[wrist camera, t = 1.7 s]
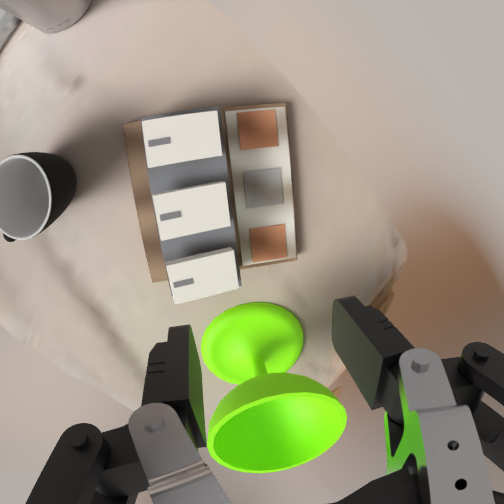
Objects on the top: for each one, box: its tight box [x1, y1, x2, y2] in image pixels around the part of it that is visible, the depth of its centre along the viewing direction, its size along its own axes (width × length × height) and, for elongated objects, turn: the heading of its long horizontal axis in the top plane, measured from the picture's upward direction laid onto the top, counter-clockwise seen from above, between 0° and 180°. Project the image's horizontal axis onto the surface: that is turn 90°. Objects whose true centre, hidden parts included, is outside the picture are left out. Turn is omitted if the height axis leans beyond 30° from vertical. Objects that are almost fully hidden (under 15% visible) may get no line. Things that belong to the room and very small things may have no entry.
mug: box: [0, 152, 76, 242], centre depth 30 cm, size 12×9×10 cm
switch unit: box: [123, 103, 297, 296], centre depth 35 cm, size 20×19×6 cm
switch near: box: [142, 111, 222, 168], centre depth 28 cm, size 4×7×2 cm, turn 96°
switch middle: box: [152, 181, 231, 241], centre depth 30 cm, size 4×7×2 cm, turn 96°
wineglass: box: [201, 302, 347, 473], centre depth 39 cm, size 16×16×18 cm
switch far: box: [165, 247, 239, 305], centre depth 33 cm, size 4×7×2 cm, turn 96°
